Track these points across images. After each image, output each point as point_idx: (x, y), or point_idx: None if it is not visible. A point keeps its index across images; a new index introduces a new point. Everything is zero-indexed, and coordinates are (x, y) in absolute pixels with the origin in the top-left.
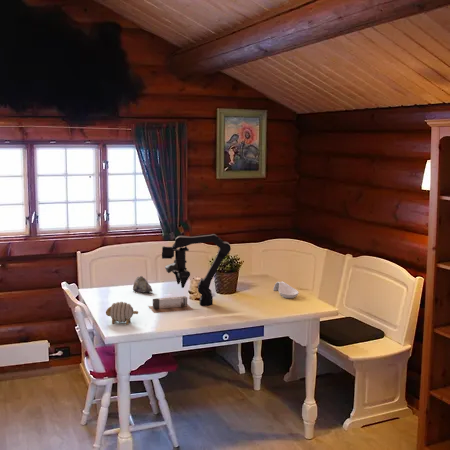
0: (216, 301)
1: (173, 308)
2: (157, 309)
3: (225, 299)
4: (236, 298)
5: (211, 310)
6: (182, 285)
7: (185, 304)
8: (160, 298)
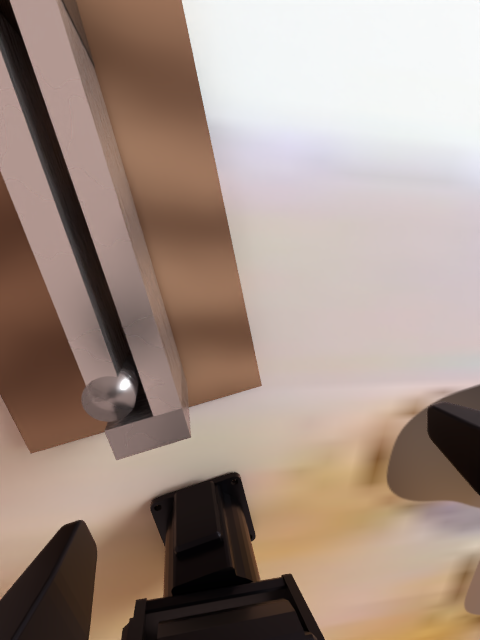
0: (327, 556)
1: None
2: None
3: (360, 593)
4: (368, 637)
5: None
6: (13, 614)
7: None
8: (45, 30)
